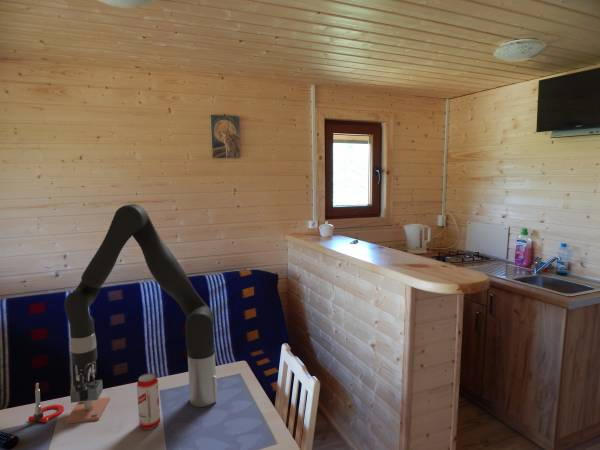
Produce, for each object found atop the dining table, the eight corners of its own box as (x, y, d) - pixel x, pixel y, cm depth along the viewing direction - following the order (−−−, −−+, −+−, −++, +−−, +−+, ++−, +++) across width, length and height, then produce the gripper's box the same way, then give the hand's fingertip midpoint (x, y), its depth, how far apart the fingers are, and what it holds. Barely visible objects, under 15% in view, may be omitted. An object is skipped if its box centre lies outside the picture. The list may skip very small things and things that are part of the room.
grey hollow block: (102, 390, 134) (102, 379, 134) (97, 399, 128) (96, 388, 128) (77, 392, 133) (76, 381, 132) (70, 402, 127) (70, 391, 127)
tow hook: (48, 406, 135) (25, 421, 126) (46, 370, 134) (23, 383, 125) (69, 408, 134) (48, 424, 125) (68, 372, 133) (46, 385, 124)
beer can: (155, 416, 128) (152, 370, 126) (163, 424, 124) (161, 377, 122) (136, 424, 124) (133, 377, 122) (144, 433, 119) (141, 384, 117)
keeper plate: (109, 399, 138) (108, 378, 137) (99, 420, 126) (97, 397, 125) (79, 403, 136) (77, 381, 135) (65, 423, 125) (63, 400, 124)
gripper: (88, 355, 122) (92, 405, 124) (102, 337, 136) (105, 382, 138) (62, 358, 121) (66, 408, 123) (79, 339, 135) (83, 385, 137)
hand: (87, 394), depth 131 cm, fingers closed on grey hollow block, 6 cm apart
